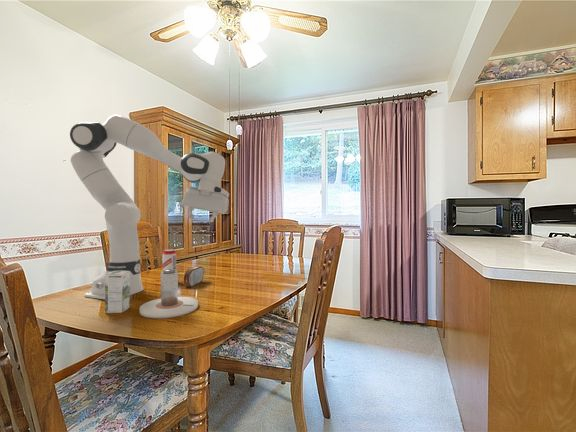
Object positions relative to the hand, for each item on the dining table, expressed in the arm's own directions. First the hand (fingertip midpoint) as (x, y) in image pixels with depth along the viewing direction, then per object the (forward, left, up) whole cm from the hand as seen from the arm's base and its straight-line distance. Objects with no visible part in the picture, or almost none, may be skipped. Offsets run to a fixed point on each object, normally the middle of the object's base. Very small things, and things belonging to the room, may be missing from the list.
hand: (200, 220), depth 127 cm
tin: (-10, +14, -32) cm, 36 cm away
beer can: (-24, +16, -32) cm, 43 cm away
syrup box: (-18, -27, -32) cm, 45 cm away
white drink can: (-1, -23, -29) cm, 37 cm away
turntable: (-1, -23, -30) cm, 38 cm away
